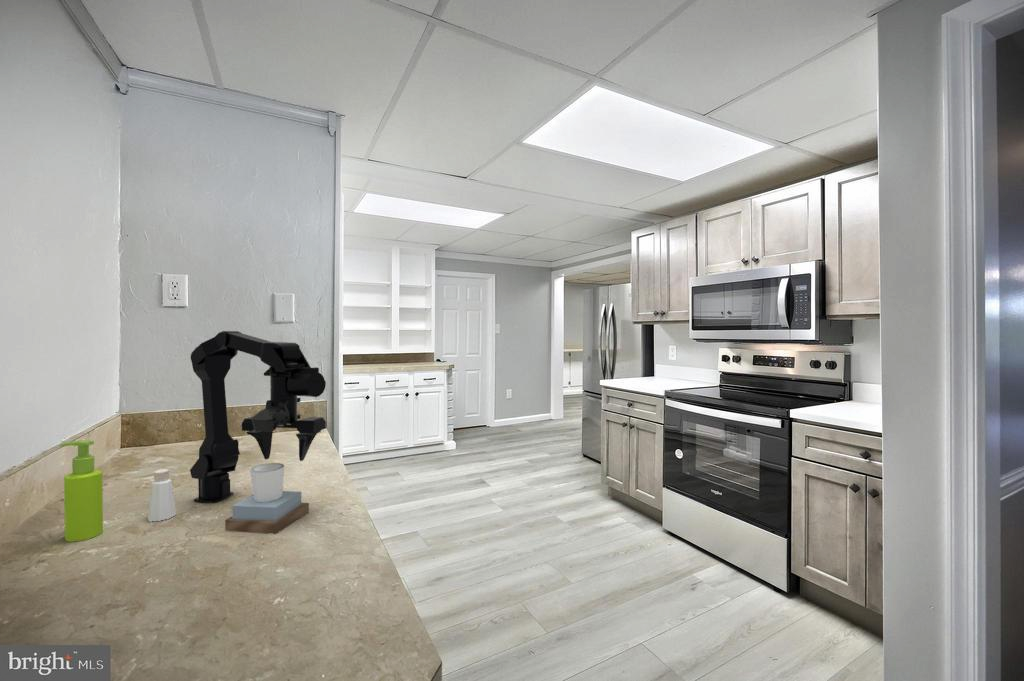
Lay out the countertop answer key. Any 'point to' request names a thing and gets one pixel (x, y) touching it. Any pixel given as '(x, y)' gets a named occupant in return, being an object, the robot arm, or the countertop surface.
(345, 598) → the countertop surface
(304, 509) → the tower base
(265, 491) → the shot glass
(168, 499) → the pepper shaker
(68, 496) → the soap dispenser
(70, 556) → the countertop surface
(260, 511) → the tower top
